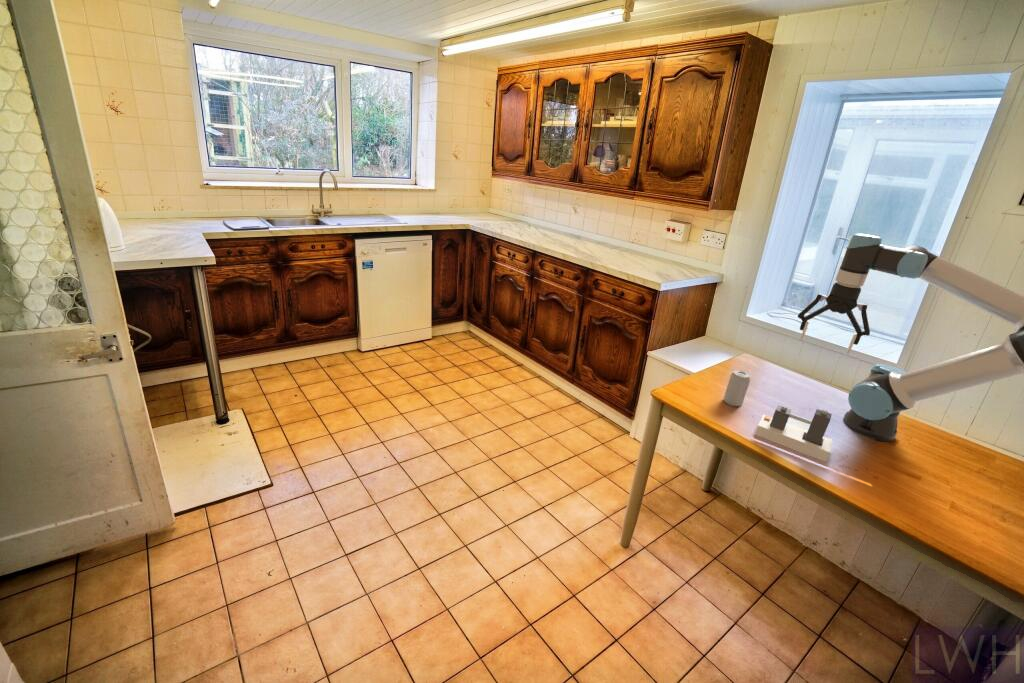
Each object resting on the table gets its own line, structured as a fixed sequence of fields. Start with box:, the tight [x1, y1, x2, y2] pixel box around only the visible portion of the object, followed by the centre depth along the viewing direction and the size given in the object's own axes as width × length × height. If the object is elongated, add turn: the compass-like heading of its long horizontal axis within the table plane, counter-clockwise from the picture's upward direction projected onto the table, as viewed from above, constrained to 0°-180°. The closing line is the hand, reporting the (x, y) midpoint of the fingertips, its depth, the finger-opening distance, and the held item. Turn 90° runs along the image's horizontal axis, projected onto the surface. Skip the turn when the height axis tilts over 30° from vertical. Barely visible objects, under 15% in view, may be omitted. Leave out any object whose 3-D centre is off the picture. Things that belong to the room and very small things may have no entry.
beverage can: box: [723, 369, 751, 408], centre depth 169 cm, size 6×6×12 cm
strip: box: [754, 405, 833, 463], centre depth 148 cm, size 20×9×11 cm, turn 53°
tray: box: [787, 412, 812, 431], centre depth 160 cm, size 12×10×2 cm
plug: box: [804, 408, 833, 445], centre depth 145 cm, size 4×4×13 cm
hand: (824, 346), depth 158 cm, fingers open, 13 cm apart
